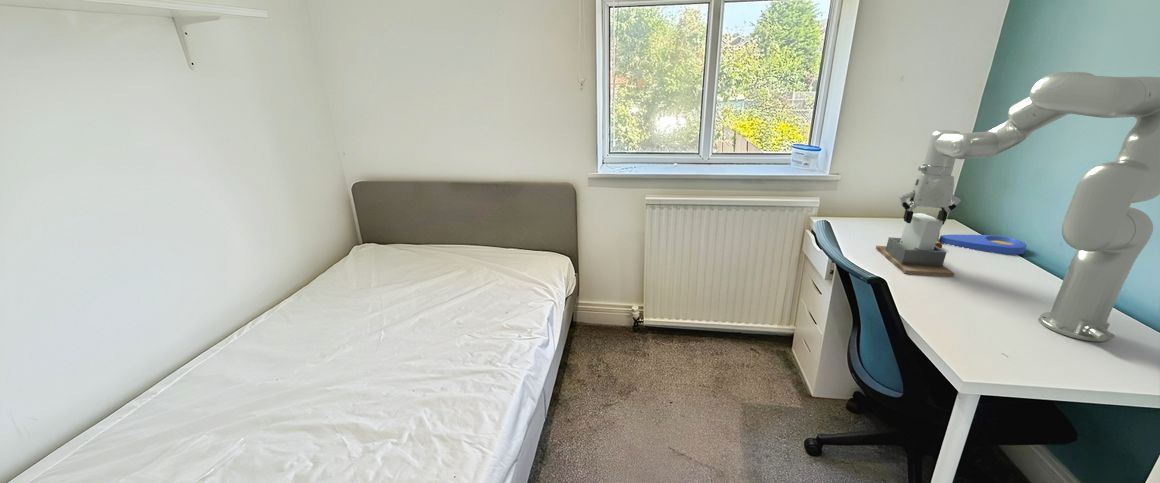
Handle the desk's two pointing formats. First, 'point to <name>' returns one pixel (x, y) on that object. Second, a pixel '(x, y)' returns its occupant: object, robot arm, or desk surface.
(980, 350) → the desk surface
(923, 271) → the square box holder
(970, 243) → the location marker
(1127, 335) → the desk surface
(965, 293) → the desk surface
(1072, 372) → the desk surface
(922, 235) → the skincare box
